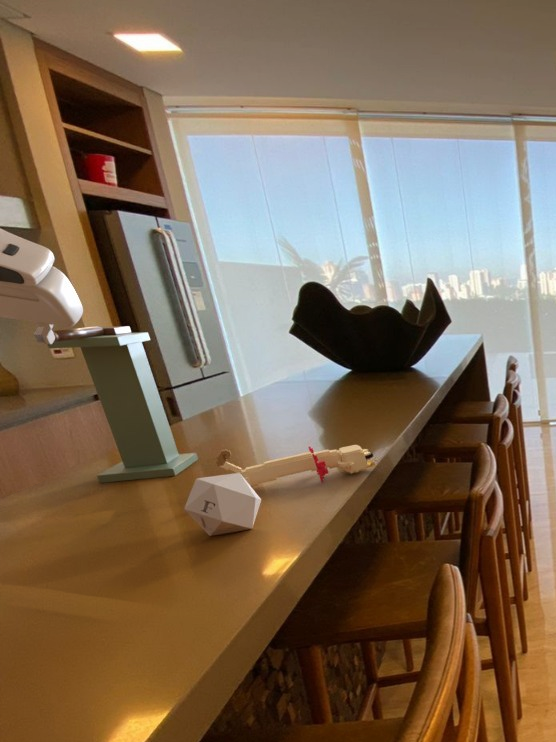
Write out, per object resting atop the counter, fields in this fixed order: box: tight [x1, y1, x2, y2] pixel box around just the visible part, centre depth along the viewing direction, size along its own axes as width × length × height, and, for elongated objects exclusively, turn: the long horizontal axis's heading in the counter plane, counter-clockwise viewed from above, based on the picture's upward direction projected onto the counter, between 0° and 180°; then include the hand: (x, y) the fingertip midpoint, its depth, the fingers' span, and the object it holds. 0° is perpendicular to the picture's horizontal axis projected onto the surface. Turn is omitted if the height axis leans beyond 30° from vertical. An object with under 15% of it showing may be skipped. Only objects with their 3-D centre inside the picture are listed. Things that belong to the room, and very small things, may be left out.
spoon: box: [52, 325, 132, 342], centre depth 98 cm, size 21×4×2 cm, turn 19°
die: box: [183, 472, 262, 537], centre depth 83 cm, size 8×9×10 cm
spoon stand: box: [46, 331, 199, 484], centre depth 107 cm, size 12×14×26 cm
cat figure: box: [215, 444, 378, 488], centre depth 104 cm, size 10×9×25 cm
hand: (3, 334), depth 82 cm, fingers open, 8 cm apart
